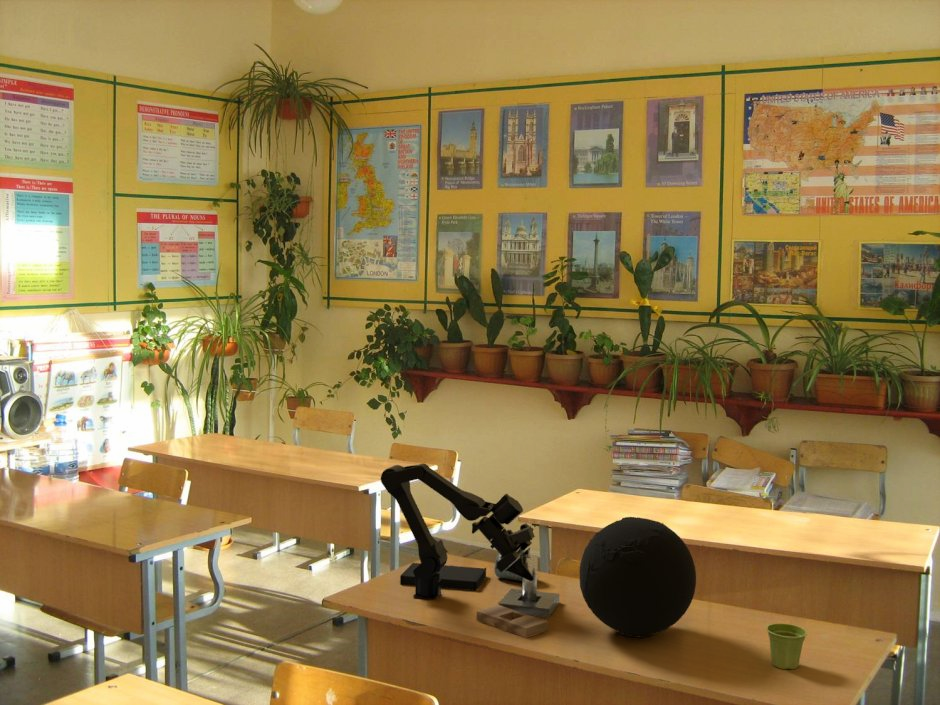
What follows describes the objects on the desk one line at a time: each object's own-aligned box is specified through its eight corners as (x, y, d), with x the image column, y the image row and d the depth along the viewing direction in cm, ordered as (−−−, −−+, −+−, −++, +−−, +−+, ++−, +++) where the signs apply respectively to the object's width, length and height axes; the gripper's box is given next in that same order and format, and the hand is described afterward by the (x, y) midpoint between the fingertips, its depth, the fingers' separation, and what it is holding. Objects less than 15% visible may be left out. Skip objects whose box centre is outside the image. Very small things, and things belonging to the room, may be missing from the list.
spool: (484, 569, 310) (499, 539, 311) (496, 576, 317) (511, 547, 319) (520, 588, 302) (535, 558, 304) (532, 595, 310) (547, 565, 312)
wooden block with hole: (476, 620, 274) (476, 610, 274) (497, 613, 279) (497, 604, 279) (525, 637, 261) (526, 628, 261) (546, 630, 266) (547, 621, 266)
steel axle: (524, 605, 283) (525, 558, 282) (520, 600, 287) (521, 554, 286) (538, 604, 283) (539, 558, 282) (534, 599, 287) (535, 554, 286)
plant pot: (812, 665, 246) (813, 629, 245) (795, 676, 239) (796, 639, 238) (775, 654, 252) (776, 620, 251) (757, 665, 245) (759, 629, 244)
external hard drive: (413, 572, 318) (413, 562, 318) (486, 577, 313) (486, 568, 313) (400, 585, 304) (400, 575, 304) (476, 591, 300) (476, 581, 299)
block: (498, 612, 280) (498, 603, 280) (511, 597, 294) (511, 588, 294) (548, 617, 276) (548, 608, 276) (559, 602, 290) (559, 593, 290)
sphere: (697, 621, 276) (701, 511, 274) (690, 660, 247) (694, 538, 245) (588, 609, 284) (590, 502, 282) (569, 646, 255) (572, 527, 253)
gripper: (508, 524, 275) (547, 568, 273) (525, 509, 293) (562, 551, 291) (479, 550, 278) (518, 594, 276) (498, 534, 296) (534, 575, 294)
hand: (534, 577), depth 284 cm, fingers closed on steel axle, 4 cm apart
